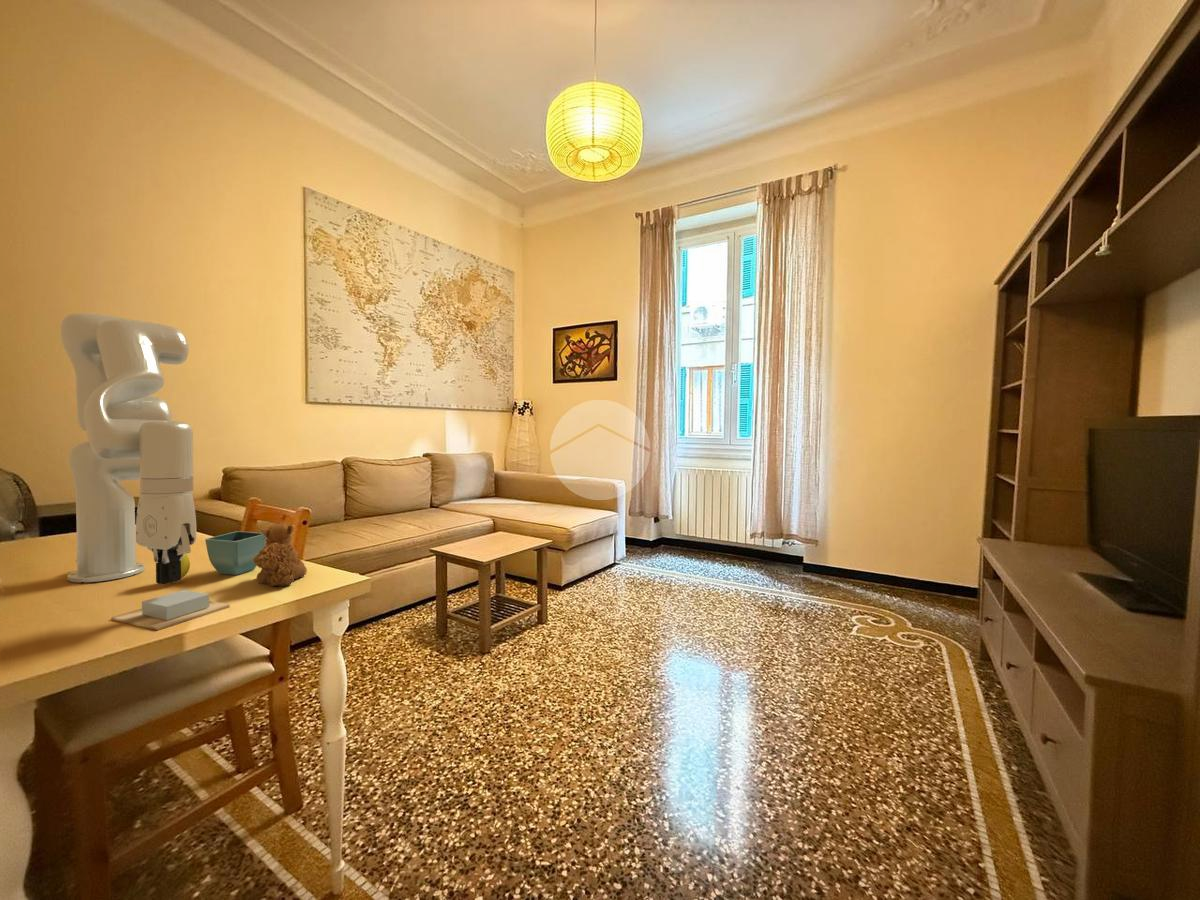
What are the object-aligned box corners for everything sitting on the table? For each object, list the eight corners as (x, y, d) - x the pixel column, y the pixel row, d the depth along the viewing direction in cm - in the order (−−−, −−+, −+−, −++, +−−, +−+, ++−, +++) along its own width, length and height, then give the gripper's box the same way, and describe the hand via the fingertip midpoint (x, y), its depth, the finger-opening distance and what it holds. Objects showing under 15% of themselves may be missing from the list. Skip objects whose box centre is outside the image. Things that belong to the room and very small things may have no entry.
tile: (141, 601, 89) (166, 606, 86) (184, 589, 95) (209, 594, 93) (142, 615, 89) (166, 621, 86) (185, 602, 95) (209, 607, 93)
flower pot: (235, 578, 112) (235, 541, 111) (204, 576, 113) (203, 538, 113) (268, 568, 120) (267, 533, 120) (238, 565, 122) (238, 531, 122)
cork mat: (111, 619, 88) (111, 617, 88) (185, 597, 99) (185, 596, 99) (157, 630, 83) (157, 628, 83) (229, 606, 95) (229, 604, 95)
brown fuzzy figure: (307, 571, 119) (307, 518, 119) (303, 588, 107) (303, 530, 106) (258, 576, 114) (258, 521, 114) (249, 594, 102) (248, 533, 101)
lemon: (170, 588, 104) (169, 552, 104) (150, 585, 106) (149, 550, 105) (196, 580, 110) (196, 546, 109) (177, 578, 111) (176, 544, 111)
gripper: (117, 486, 89) (119, 582, 90) (170, 491, 85) (171, 593, 85) (165, 482, 96) (166, 571, 97) (216, 487, 92) (216, 581, 92)
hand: (168, 581), depth 91 cm, fingers closed
